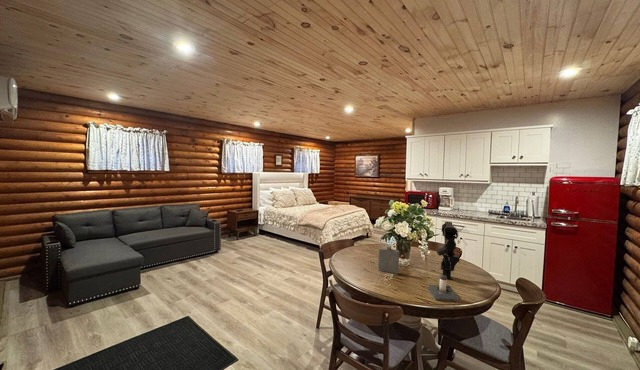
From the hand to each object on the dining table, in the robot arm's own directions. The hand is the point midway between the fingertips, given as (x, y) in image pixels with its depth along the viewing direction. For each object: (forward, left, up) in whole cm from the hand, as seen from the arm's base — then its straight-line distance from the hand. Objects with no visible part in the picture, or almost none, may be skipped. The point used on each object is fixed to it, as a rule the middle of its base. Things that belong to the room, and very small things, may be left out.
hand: (448, 267), depth 184 cm
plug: (+16, -9, -13) cm, 23 cm away
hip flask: (-20, -38, -13) cm, 45 cm away
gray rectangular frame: (+16, -9, -13) cm, 23 cm away
